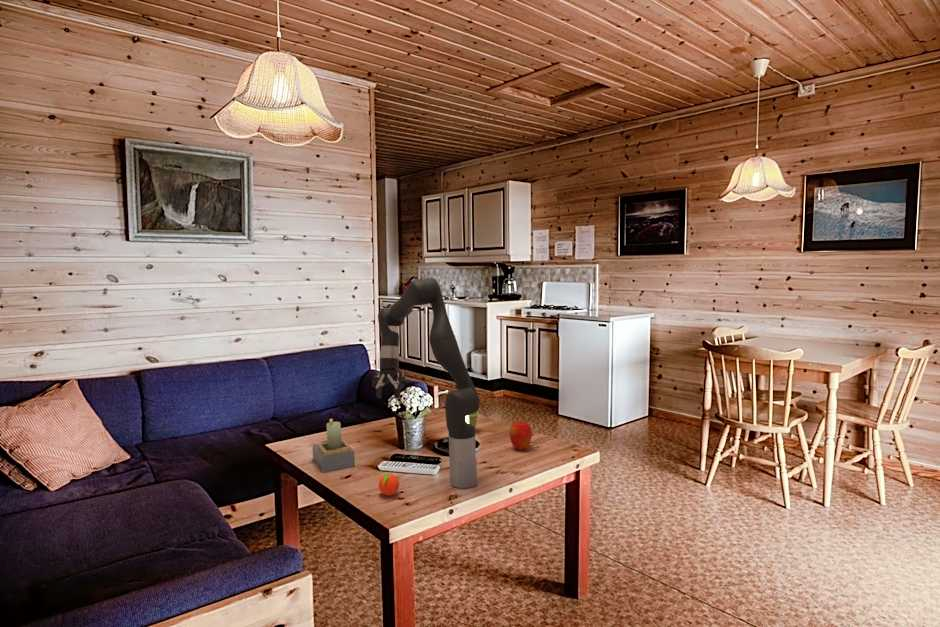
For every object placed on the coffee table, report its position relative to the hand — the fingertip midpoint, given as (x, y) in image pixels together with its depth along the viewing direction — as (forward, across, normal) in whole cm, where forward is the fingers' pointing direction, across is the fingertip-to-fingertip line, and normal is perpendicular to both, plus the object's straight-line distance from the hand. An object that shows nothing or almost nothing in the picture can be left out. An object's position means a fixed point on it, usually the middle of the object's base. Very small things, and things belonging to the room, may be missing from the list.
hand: (387, 398), depth 226 cm
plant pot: (+14, +15, +42) cm, 47 cm away
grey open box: (+25, -17, -10) cm, 32 cm away
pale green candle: (+20, -15, -13) cm, 28 cm away
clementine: (+32, +20, -25) cm, 45 cm away
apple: (+19, +44, +32) cm, 58 cm away
